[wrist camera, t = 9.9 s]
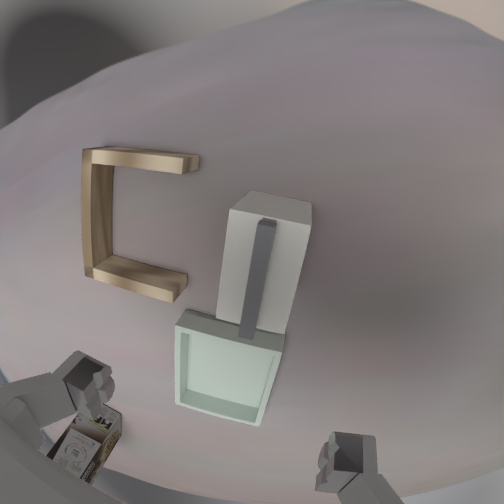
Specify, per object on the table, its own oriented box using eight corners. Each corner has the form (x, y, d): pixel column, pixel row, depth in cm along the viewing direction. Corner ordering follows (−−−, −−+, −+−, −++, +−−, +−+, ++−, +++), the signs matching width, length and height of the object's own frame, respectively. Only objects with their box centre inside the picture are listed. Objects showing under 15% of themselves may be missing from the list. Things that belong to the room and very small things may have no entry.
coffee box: (90, 395, 41) (40, 460, 26) (122, 413, 41) (76, 485, 26) (93, 420, 45) (52, 478, 30) (122, 436, 44) (84, 498, 29)
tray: (285, 333, 29) (282, 352, 26) (263, 408, 33) (259, 426, 31) (186, 308, 30) (175, 324, 27) (183, 387, 35) (175, 403, 32)
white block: (311, 202, 24) (311, 233, 16) (291, 288, 27) (281, 348, 19) (251, 190, 25) (222, 215, 17) (237, 276, 28) (208, 330, 20)
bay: (199, 155, 24) (183, 158, 21) (186, 285, 29) (172, 303, 26) (105, 146, 25) (82, 149, 22) (104, 262, 30) (85, 275, 27)
